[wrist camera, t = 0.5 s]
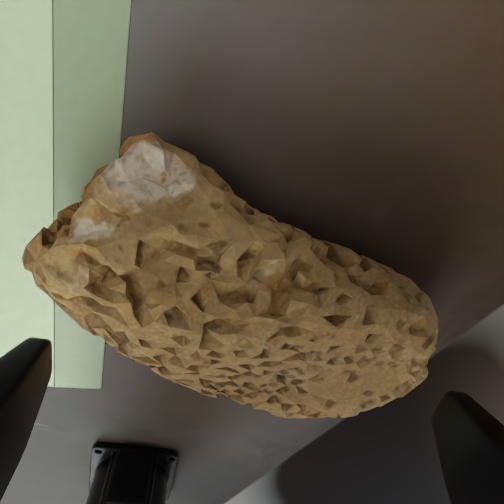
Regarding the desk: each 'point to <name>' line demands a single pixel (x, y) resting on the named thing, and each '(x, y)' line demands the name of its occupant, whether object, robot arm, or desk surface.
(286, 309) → the sponge
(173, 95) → the desk surface
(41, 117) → the tray
